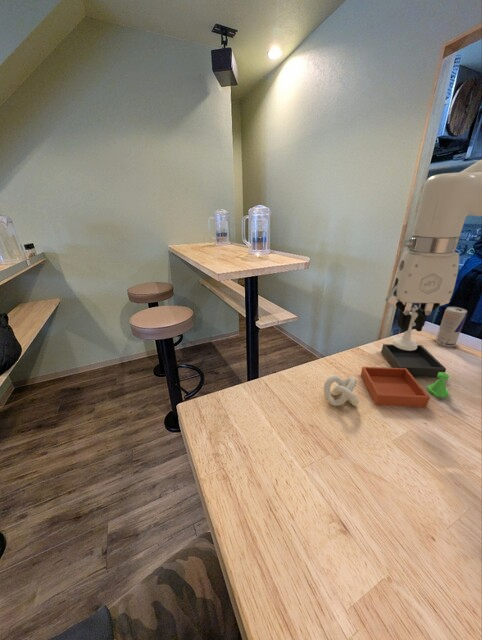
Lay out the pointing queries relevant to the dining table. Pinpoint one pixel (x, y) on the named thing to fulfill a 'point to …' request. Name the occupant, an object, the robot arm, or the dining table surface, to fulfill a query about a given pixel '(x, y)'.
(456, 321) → the energy drink
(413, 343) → the chess piece
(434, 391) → the game piece
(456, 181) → the robot arm
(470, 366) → the dining table surface
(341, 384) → the knot
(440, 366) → the charcoal bin
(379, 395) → the terracotta bin
